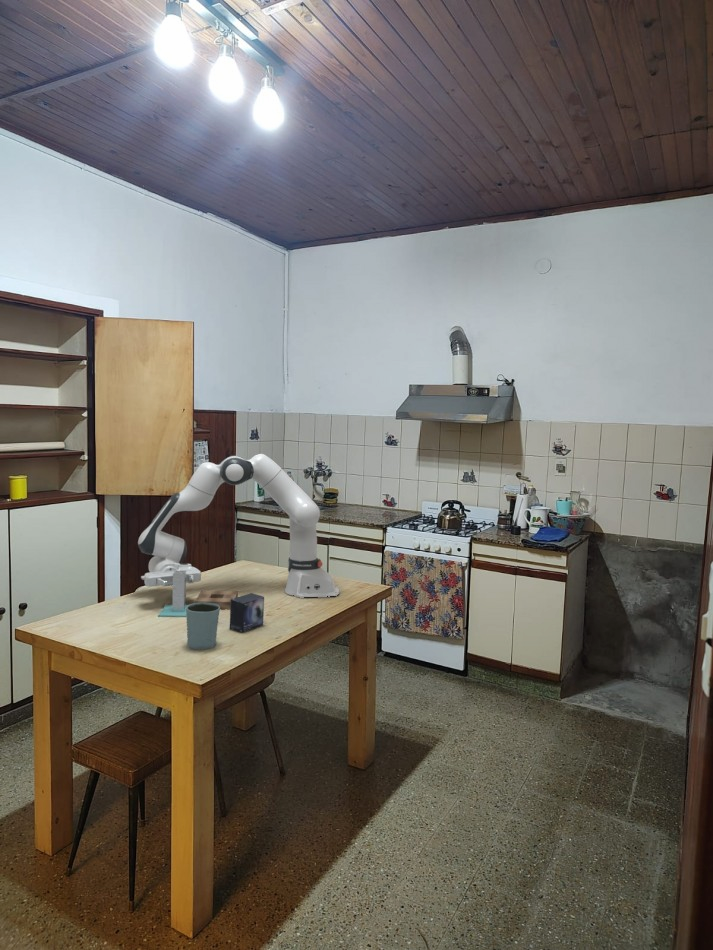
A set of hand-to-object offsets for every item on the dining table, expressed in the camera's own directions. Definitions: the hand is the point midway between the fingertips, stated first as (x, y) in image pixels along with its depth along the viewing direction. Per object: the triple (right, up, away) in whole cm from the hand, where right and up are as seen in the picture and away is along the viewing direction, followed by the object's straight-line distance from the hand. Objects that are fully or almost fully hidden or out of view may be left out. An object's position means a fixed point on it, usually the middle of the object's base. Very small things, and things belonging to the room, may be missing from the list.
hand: (178, 582), depth 220 cm
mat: (0, -11, 0) cm, 11 cm away
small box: (+27, -13, -13) cm, 33 cm away
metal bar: (0, -10, 0) cm, 10 cm away
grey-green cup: (+16, -14, -30) cm, 37 cm away
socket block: (+11, -10, +11) cm, 19 cm away
